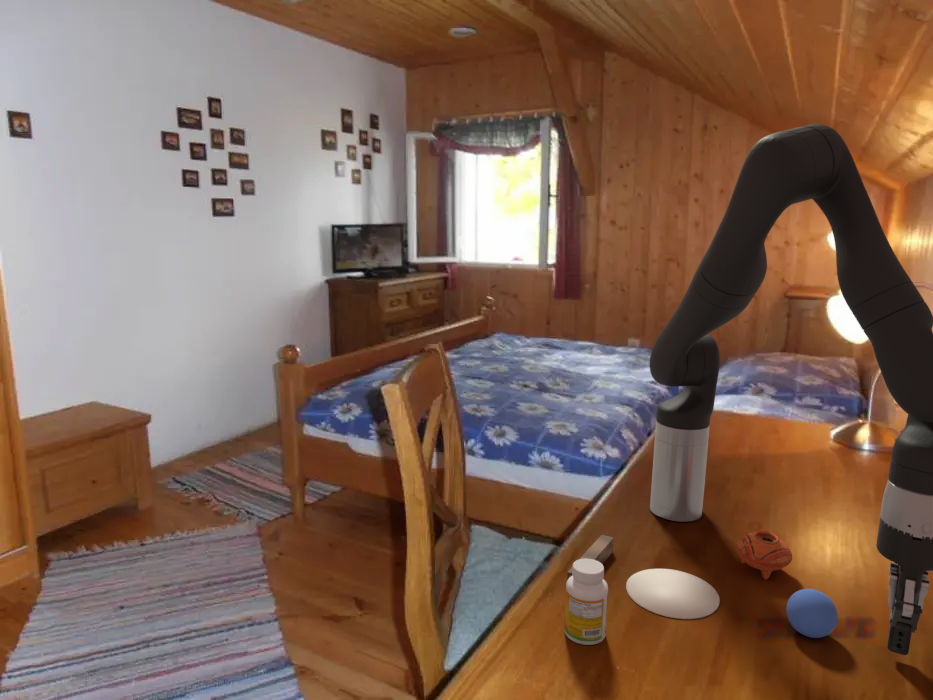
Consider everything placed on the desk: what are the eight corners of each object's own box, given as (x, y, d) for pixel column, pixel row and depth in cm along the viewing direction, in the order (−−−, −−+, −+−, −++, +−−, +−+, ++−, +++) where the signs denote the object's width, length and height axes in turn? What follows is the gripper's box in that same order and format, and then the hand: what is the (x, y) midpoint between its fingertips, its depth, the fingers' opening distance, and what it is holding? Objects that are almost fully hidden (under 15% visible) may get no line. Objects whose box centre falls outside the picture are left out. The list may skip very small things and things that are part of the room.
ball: (787, 615, 94) (792, 575, 93) (836, 629, 91) (842, 588, 90) (781, 637, 89) (786, 596, 88) (832, 653, 86) (838, 610, 85)
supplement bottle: (577, 616, 93) (580, 551, 91) (613, 632, 90) (617, 564, 88) (556, 635, 89) (559, 566, 87) (592, 652, 86) (596, 581, 84)
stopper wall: (601, 548, 112) (601, 534, 111) (612, 551, 111) (613, 537, 110) (566, 587, 100) (567, 571, 100) (579, 591, 99) (580, 575, 99)
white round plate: (642, 561, 108) (642, 560, 108) (728, 585, 101) (728, 584, 101) (613, 600, 97) (613, 599, 97) (707, 630, 90) (707, 628, 90)
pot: (762, 551, 111) (774, 518, 108) (794, 586, 104) (808, 551, 102) (720, 555, 109) (731, 522, 106) (750, 591, 102) (763, 556, 99)
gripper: (881, 494, 89) (864, 614, 92) (879, 534, 78) (860, 669, 81) (951, 508, 85) (931, 632, 88) (960, 551, 74) (936, 692, 77)
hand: (897, 650), depth 85 cm, fingers closed
